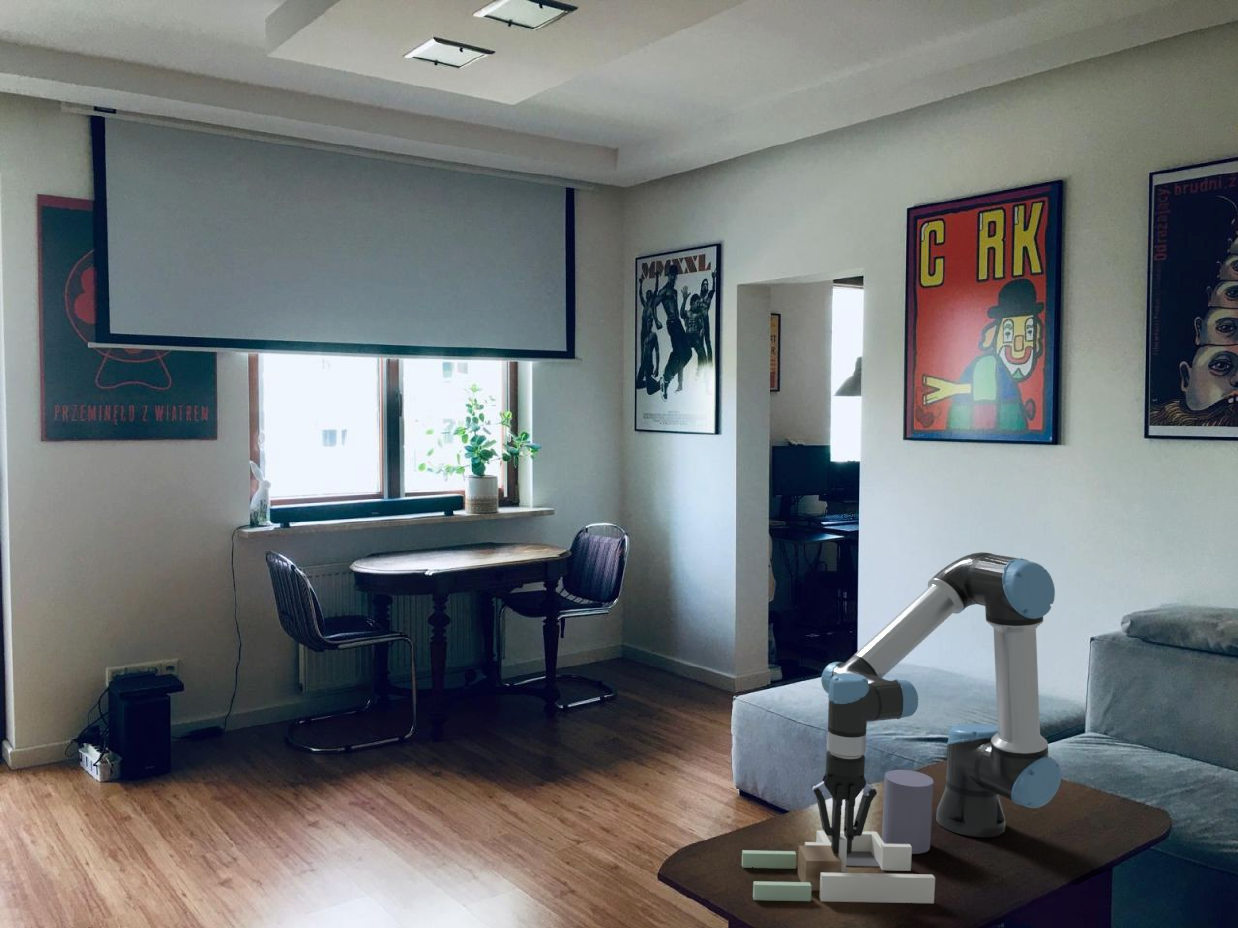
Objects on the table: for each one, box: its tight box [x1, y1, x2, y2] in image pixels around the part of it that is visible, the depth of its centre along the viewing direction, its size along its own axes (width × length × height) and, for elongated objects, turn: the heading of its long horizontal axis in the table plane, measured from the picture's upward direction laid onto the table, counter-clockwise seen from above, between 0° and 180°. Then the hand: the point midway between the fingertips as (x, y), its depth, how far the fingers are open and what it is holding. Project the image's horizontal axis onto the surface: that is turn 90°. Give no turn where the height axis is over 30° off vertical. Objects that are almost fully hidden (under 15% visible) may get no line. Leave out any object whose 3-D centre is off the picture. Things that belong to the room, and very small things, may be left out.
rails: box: [741, 849, 812, 902], centre depth 204 cm, size 11×16×3 cm
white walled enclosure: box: [804, 829, 936, 904], centre depth 209 cm, size 22×24×5 cm
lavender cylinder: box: [881, 769, 934, 855], centre depth 224 cm, size 10×10×15 cm
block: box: [797, 845, 842, 892], centre depth 205 cm, size 7×7×6 cm
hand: (840, 868), depth 204 cm, fingers closed
